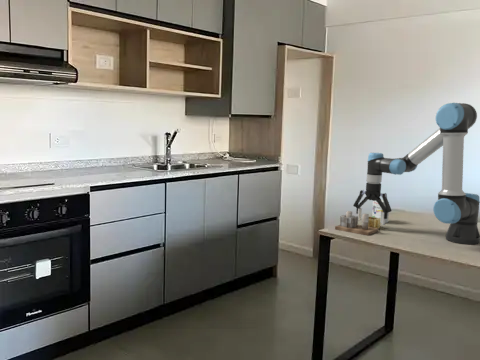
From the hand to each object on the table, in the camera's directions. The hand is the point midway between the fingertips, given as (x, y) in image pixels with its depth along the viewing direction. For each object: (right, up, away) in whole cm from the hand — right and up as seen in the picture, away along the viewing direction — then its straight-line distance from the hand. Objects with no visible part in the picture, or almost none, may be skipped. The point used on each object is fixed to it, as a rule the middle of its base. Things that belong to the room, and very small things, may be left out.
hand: (371, 222), depth 261 cm
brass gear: (0, -3, 0) cm, 3 cm away
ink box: (+9, -1, +16) cm, 18 cm away
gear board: (-9, -3, -6) cm, 12 cm away
